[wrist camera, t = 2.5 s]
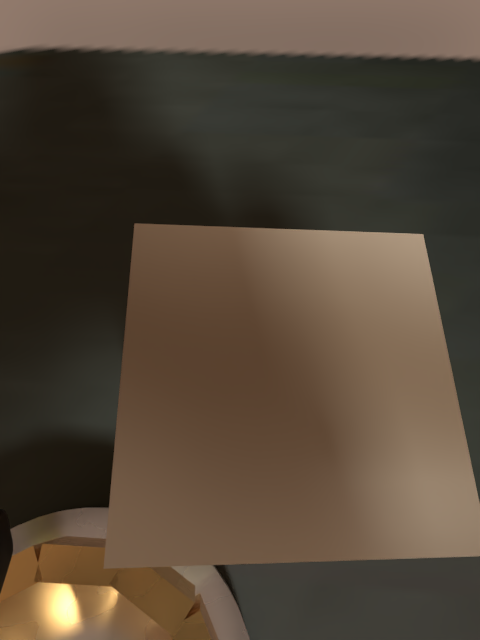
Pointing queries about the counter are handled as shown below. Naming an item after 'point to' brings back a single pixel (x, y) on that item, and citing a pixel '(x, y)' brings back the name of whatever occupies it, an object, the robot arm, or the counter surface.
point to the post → (285, 403)
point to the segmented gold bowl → (106, 589)
